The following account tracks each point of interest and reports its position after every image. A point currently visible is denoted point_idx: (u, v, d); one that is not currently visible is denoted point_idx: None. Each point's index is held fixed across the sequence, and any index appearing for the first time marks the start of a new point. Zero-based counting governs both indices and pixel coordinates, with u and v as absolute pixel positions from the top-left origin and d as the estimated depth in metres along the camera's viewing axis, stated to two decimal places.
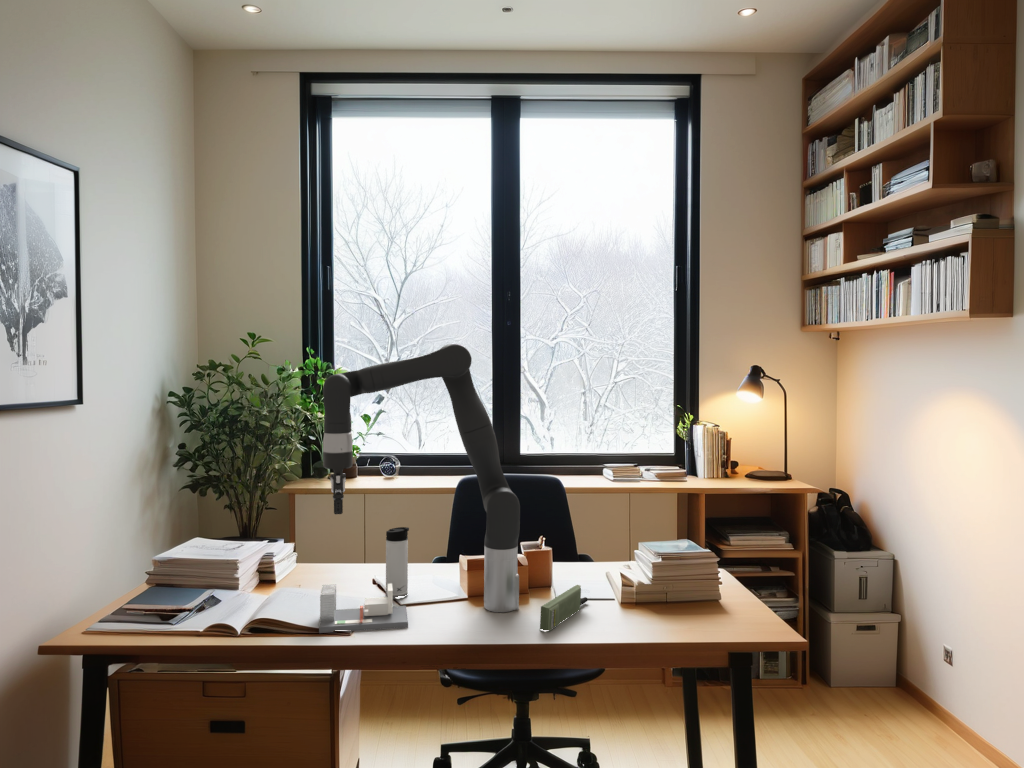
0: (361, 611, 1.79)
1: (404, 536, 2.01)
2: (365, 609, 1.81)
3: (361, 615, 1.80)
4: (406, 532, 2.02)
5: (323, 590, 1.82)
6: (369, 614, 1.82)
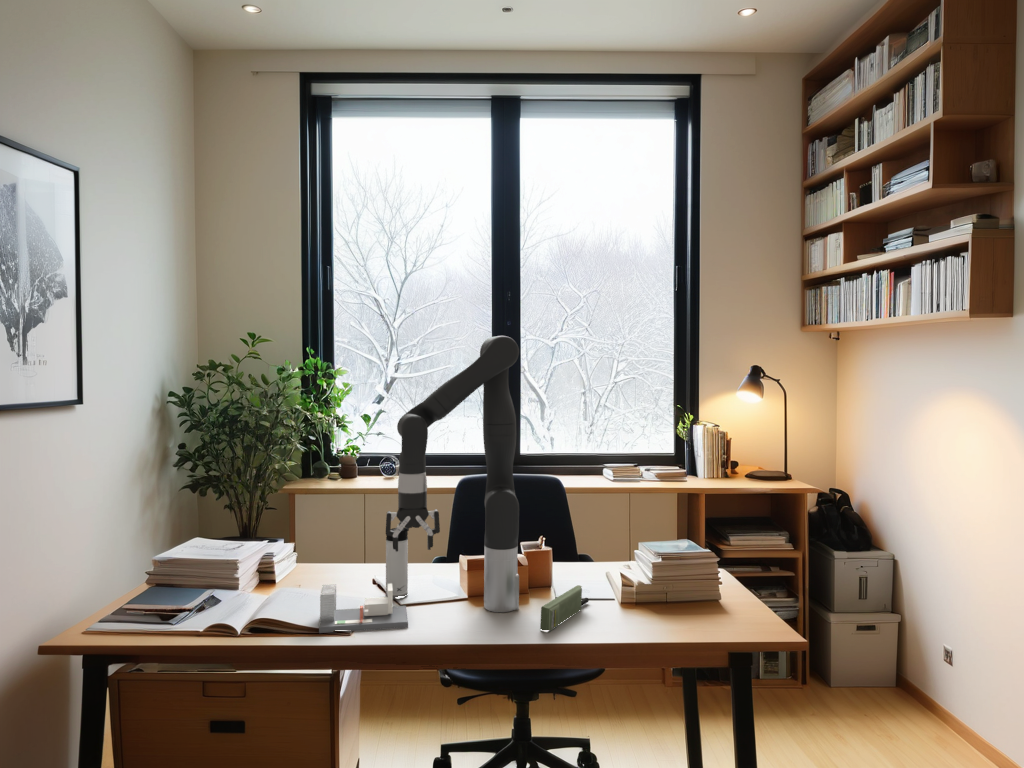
0: (361, 611, 1.79)
1: (404, 536, 2.01)
2: (365, 609, 1.81)
3: (361, 615, 1.80)
4: (406, 532, 2.02)
5: (323, 590, 1.82)
6: (369, 614, 1.82)
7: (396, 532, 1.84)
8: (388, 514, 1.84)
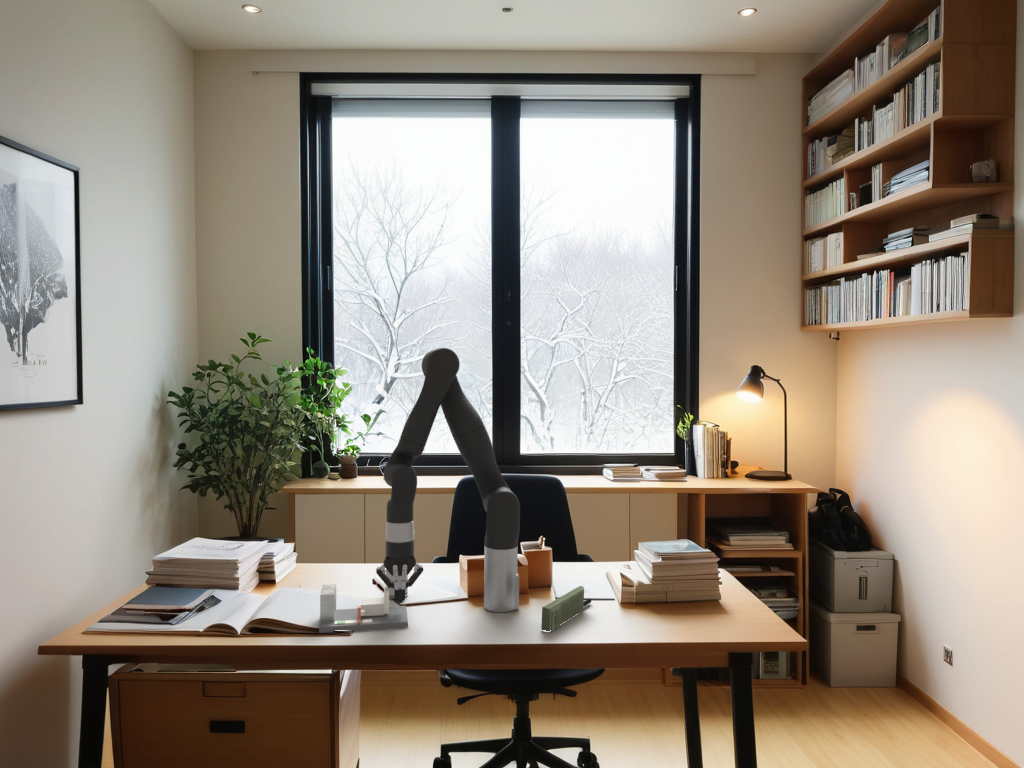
0: (359, 611, 1.79)
1: None
2: (361, 609, 1.81)
3: (359, 615, 1.79)
4: None
5: (323, 590, 1.82)
6: (365, 614, 1.82)
7: (398, 584, 1.84)
8: (377, 571, 1.83)
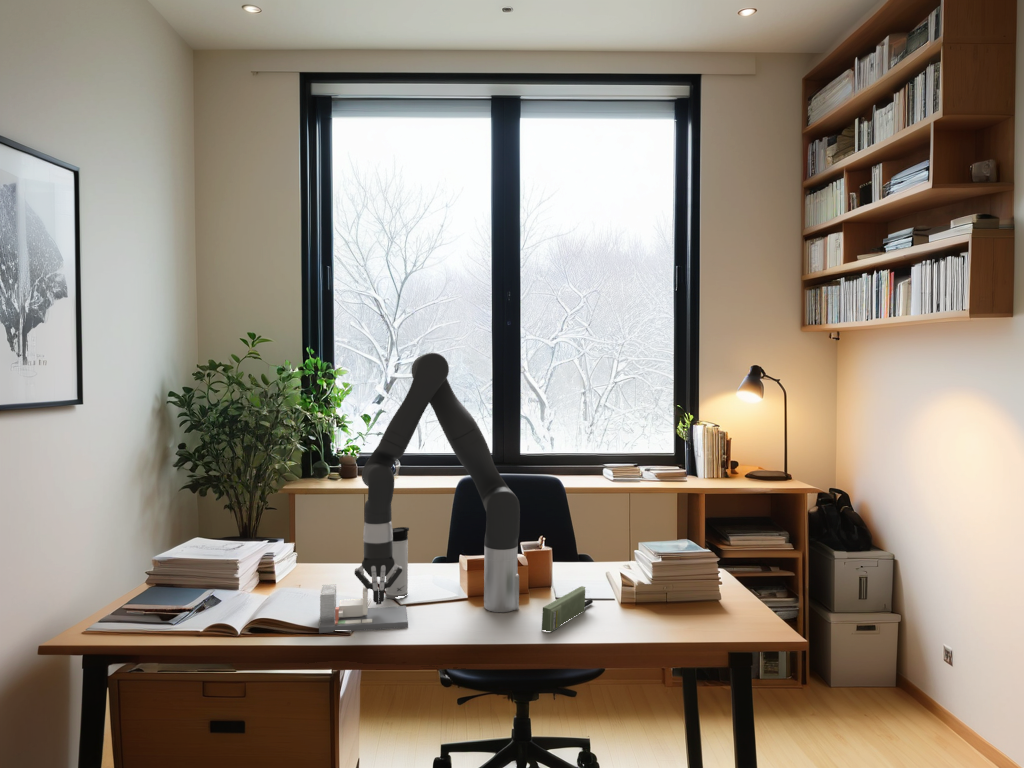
0: (336, 612, 1.78)
1: (404, 536, 2.01)
2: (339, 610, 1.80)
3: (336, 616, 1.78)
4: (406, 532, 2.02)
5: (323, 590, 1.82)
6: (344, 615, 1.81)
7: (376, 585, 1.83)
8: (355, 572, 1.82)
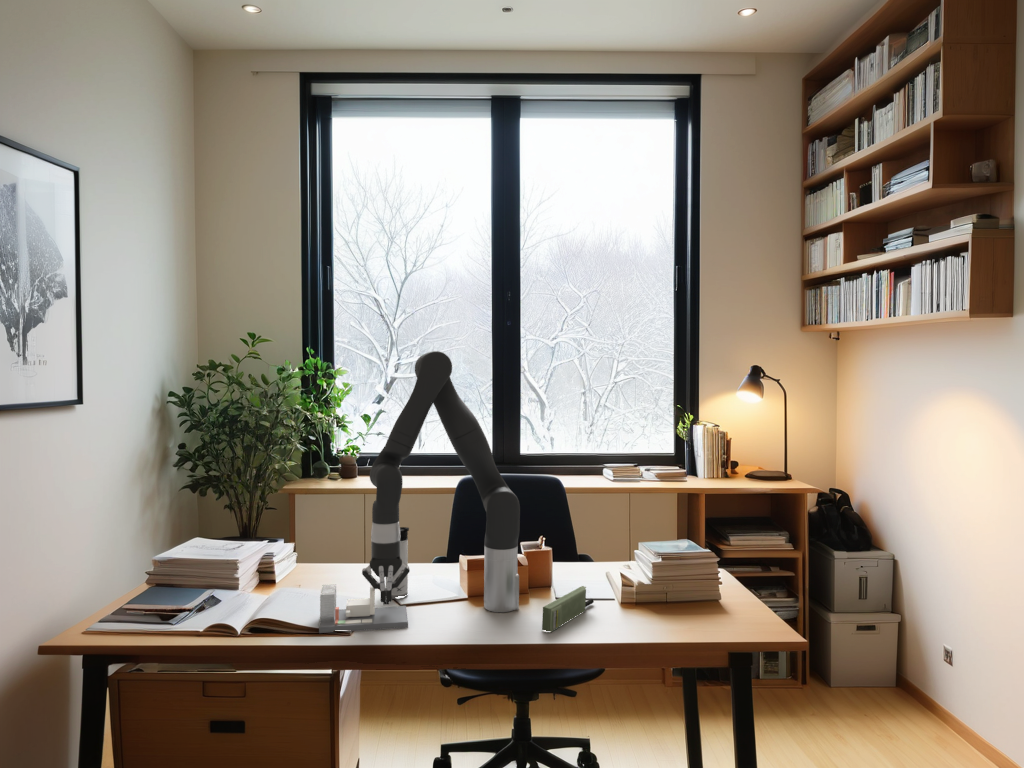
0: (336, 612, 1.78)
1: (404, 536, 2.01)
2: (347, 610, 1.80)
3: (336, 616, 1.78)
4: (406, 532, 2.02)
5: (323, 590, 1.82)
6: (351, 615, 1.81)
7: (384, 585, 1.84)
8: (363, 572, 1.83)
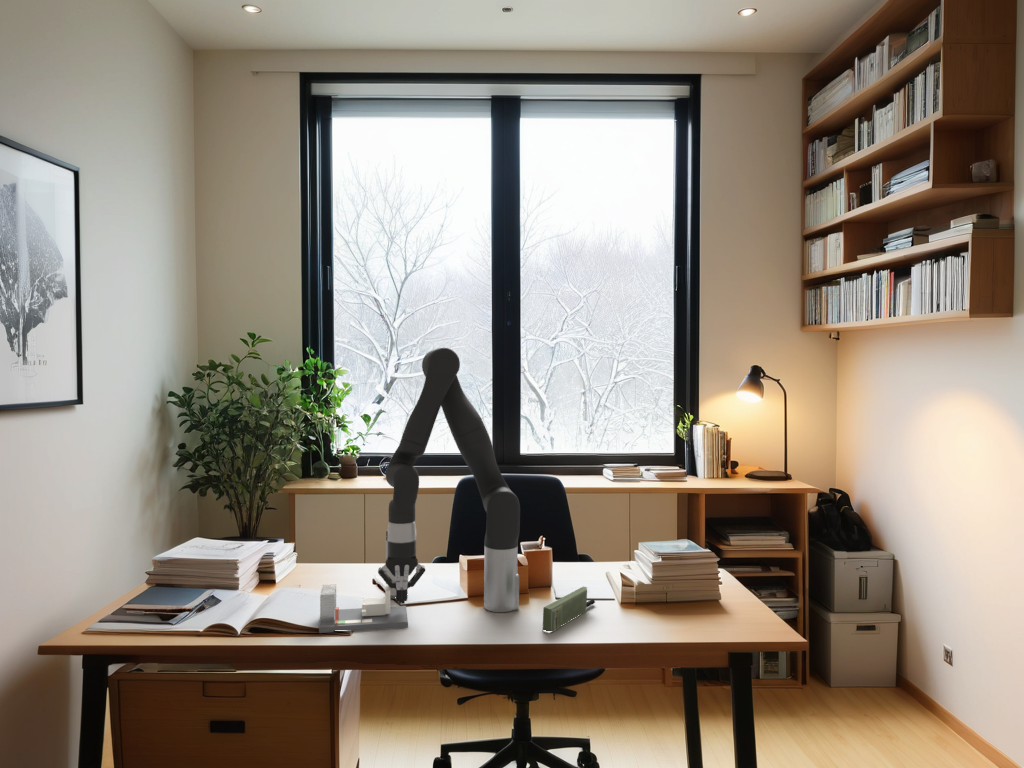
0: (336, 612, 1.78)
1: None
2: (363, 609, 1.81)
3: (336, 616, 1.78)
4: None
5: (323, 590, 1.82)
6: (367, 614, 1.82)
7: (400, 584, 1.85)
8: (379, 571, 1.84)
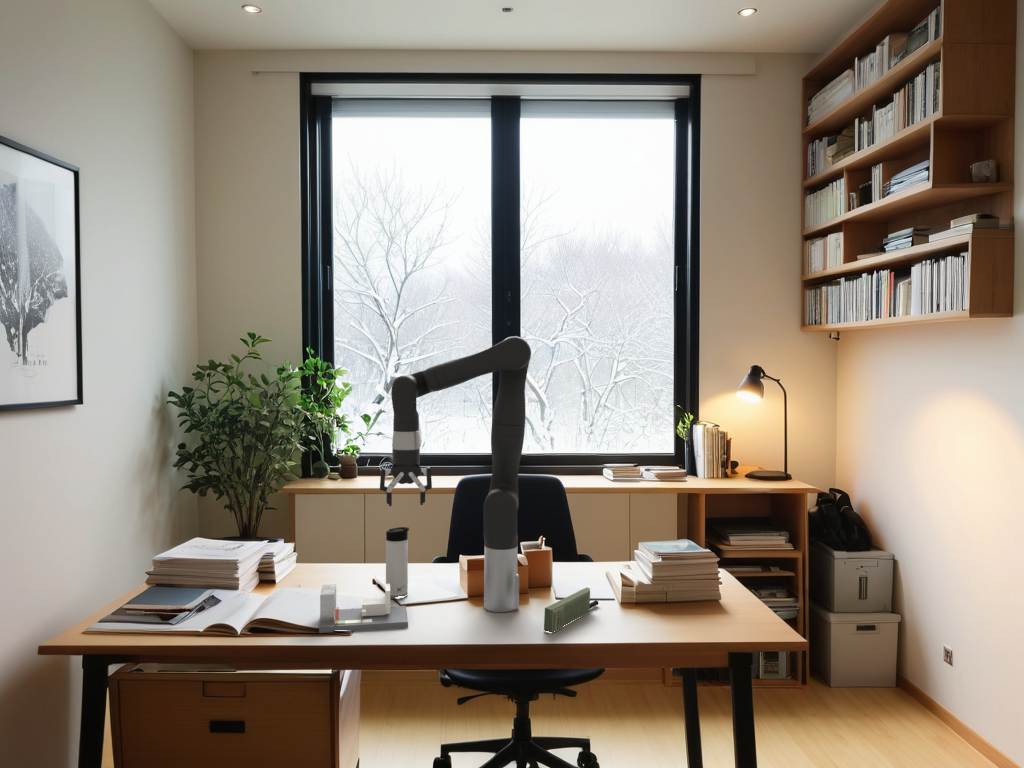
0: (336, 612, 1.78)
1: (404, 536, 2.01)
2: (363, 609, 1.81)
3: (336, 616, 1.78)
4: (406, 532, 2.02)
5: (323, 590, 1.82)
6: (367, 614, 1.82)
7: (390, 487, 1.93)
8: (382, 470, 1.92)
